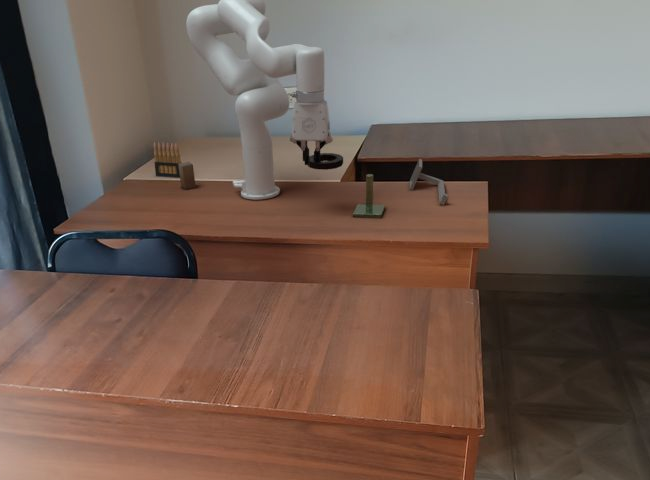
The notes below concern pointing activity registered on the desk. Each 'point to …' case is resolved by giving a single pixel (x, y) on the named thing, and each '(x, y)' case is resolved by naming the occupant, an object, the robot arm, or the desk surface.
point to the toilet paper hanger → (422, 176)
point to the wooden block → (186, 175)
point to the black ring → (330, 158)
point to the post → (369, 203)
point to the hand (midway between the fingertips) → (311, 163)
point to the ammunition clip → (167, 160)
